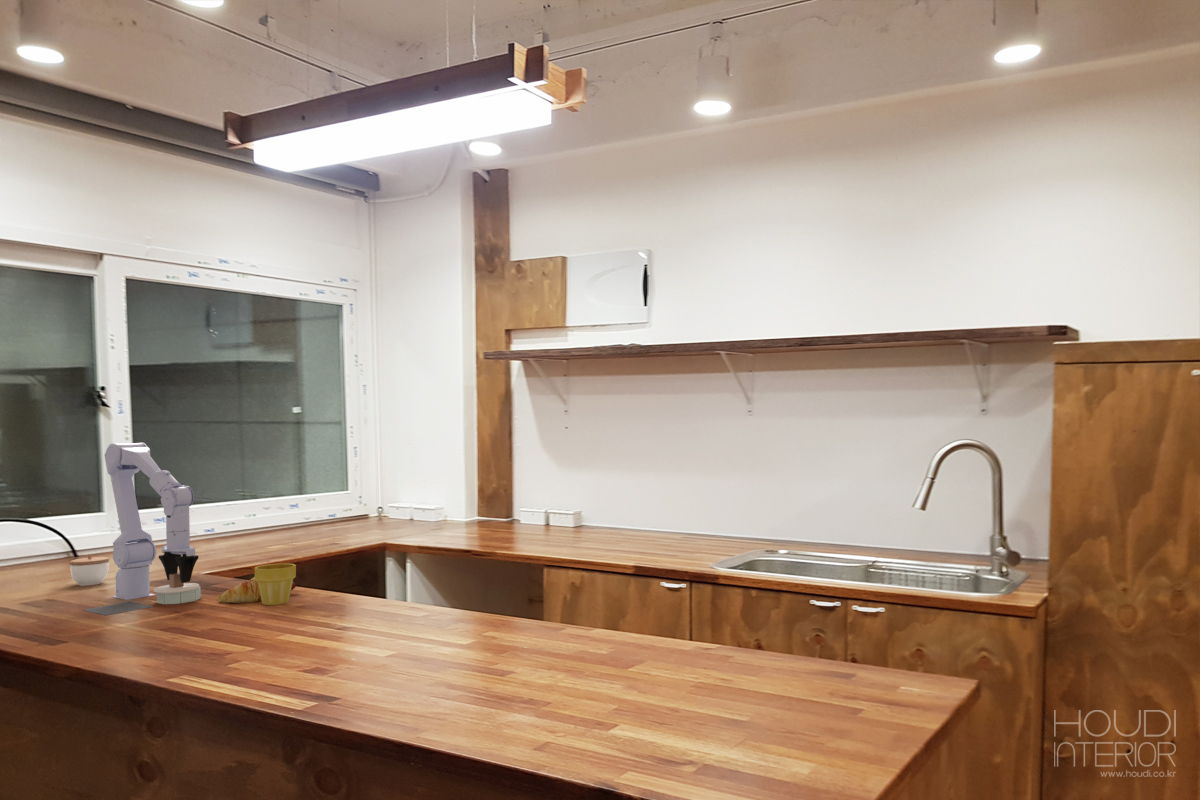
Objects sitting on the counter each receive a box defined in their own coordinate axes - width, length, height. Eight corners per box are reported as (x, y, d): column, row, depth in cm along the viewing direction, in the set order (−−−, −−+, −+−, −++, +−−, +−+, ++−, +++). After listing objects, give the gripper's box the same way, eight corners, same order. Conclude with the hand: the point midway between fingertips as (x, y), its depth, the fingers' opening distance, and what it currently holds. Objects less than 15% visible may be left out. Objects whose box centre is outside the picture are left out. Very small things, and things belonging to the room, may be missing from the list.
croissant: (221, 620, 224) (225, 594, 222) (209, 598, 231) (213, 573, 228) (299, 605, 239) (304, 581, 236) (286, 584, 245) (290, 561, 243)
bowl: (151, 603, 231) (151, 590, 231) (188, 597, 239) (187, 584, 239) (169, 607, 225) (169, 594, 225) (206, 600, 233) (206, 587, 233)
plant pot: (301, 598, 232) (301, 562, 232) (289, 605, 222) (288, 568, 222) (263, 599, 232) (262, 563, 232) (249, 607, 221) (248, 569, 222)
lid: (145, 591, 231) (145, 575, 231) (186, 584, 239) (186, 569, 240) (165, 595, 224) (165, 578, 224) (207, 588, 233) (206, 572, 233)
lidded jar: (117, 580, 273) (116, 551, 274) (94, 586, 263) (93, 556, 263) (86, 581, 274) (85, 552, 275) (61, 587, 264) (61, 557, 264)
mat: (82, 612, 223) (82, 609, 223) (130, 603, 232) (129, 601, 232) (105, 617, 214) (105, 615, 214) (154, 608, 224) (154, 606, 224)
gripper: (150, 531, 234) (151, 581, 233) (176, 533, 225) (177, 585, 225) (176, 528, 239) (176, 577, 239) (202, 530, 231) (203, 581, 230)
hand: (178, 580), depth 232 cm, fingers open, 7 cm apart
